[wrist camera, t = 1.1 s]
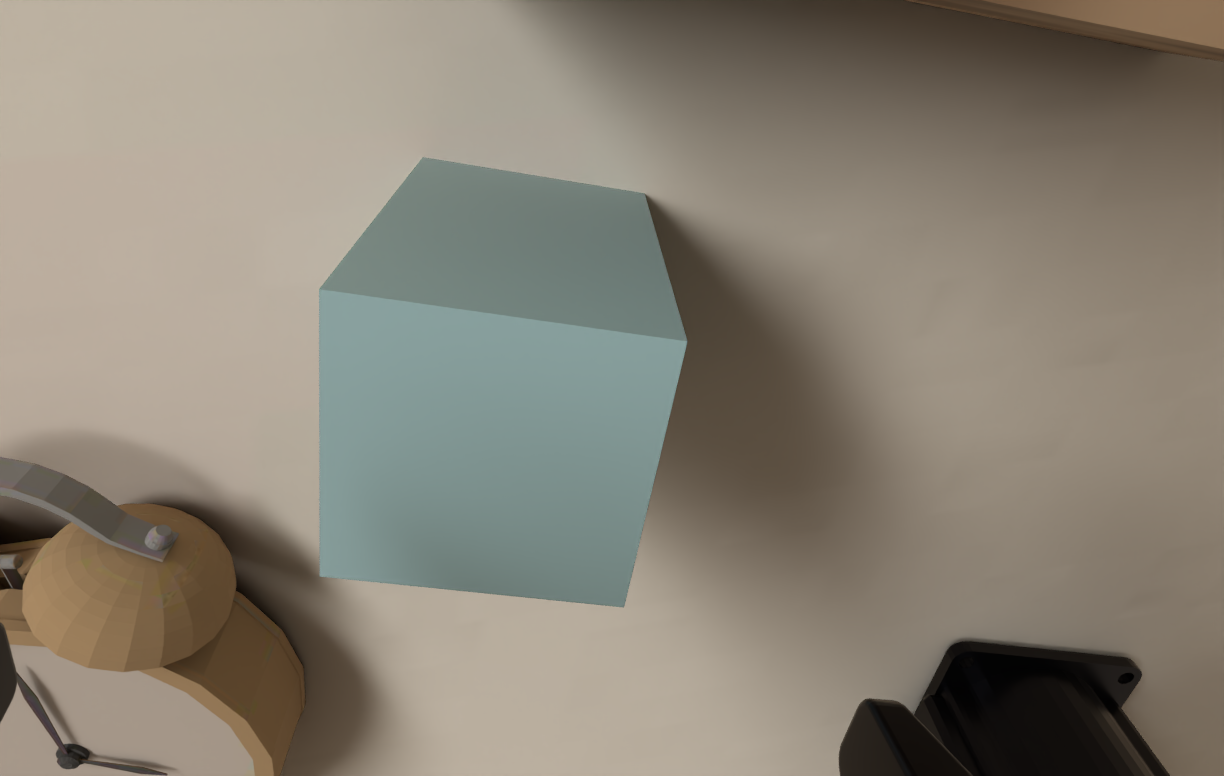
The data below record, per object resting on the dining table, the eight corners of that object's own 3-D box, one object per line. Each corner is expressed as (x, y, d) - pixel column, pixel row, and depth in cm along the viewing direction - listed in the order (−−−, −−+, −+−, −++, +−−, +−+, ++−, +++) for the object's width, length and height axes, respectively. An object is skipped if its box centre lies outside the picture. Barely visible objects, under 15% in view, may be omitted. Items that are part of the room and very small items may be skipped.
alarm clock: (-50, 880, 25) (-443, 578, 15) (34, 728, 29) (-240, 413, 19) (314, 866, 25) (147, 564, 16) (348, 719, 29) (230, 406, 20)
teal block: (644, 193, 18) (687, 341, 11) (608, 384, 20) (624, 607, 13) (423, 157, 17) (319, 288, 10) (411, 357, 20) (319, 576, 13)
